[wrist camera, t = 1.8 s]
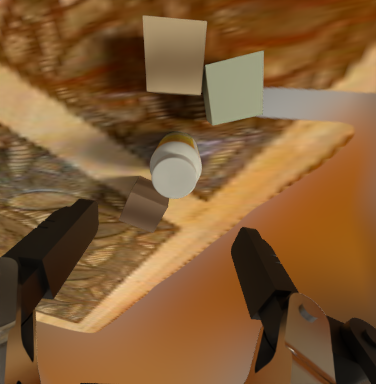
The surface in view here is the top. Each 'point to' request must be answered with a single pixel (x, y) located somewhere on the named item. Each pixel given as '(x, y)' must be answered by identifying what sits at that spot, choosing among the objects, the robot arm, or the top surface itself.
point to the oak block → (174, 55)
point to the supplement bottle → (175, 165)
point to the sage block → (233, 88)
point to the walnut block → (144, 206)
